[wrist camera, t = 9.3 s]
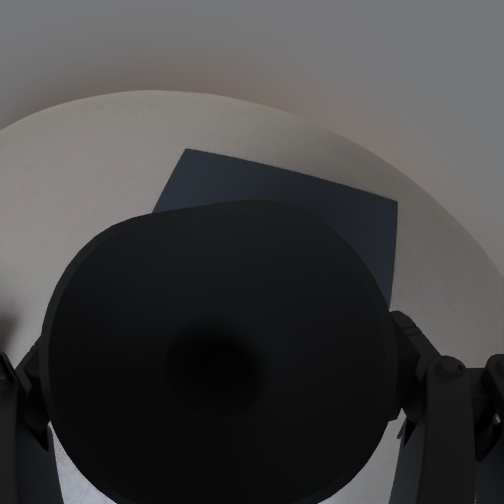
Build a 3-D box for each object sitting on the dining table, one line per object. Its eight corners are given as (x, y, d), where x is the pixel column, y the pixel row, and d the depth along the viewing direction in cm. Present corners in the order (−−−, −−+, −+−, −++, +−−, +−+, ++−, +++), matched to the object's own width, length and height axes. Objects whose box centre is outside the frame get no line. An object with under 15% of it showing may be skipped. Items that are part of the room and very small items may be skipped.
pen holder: (258, 483, 13) (268, 583, 4) (118, 391, 15) (-4, 381, 6) (345, 344, 16) (444, 291, 7) (207, 263, 18) (170, 145, 9)
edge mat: (396, 202, 26) (397, 201, 25) (388, 309, 22) (389, 308, 21) (186, 150, 28) (185, 148, 27) (139, 241, 24) (138, 240, 23)
